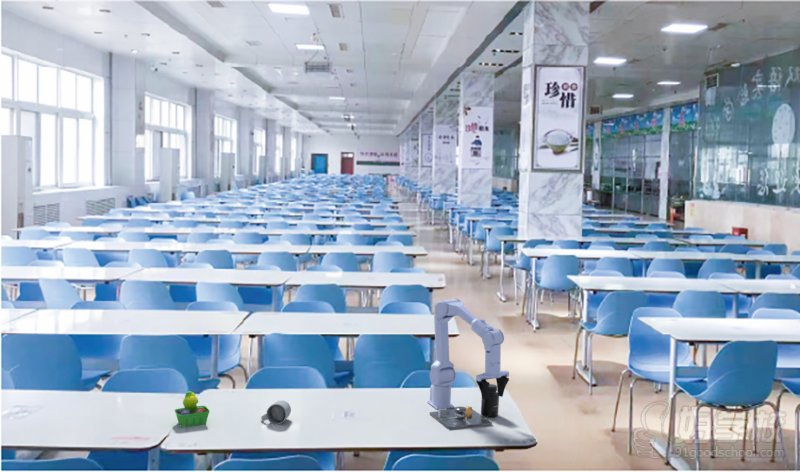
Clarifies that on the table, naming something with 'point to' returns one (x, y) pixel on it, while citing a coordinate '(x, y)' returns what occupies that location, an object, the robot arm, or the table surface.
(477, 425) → the base
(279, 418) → the ceramic mug
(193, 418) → the fruit basket
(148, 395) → the table surface
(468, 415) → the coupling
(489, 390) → the supplement bottle
